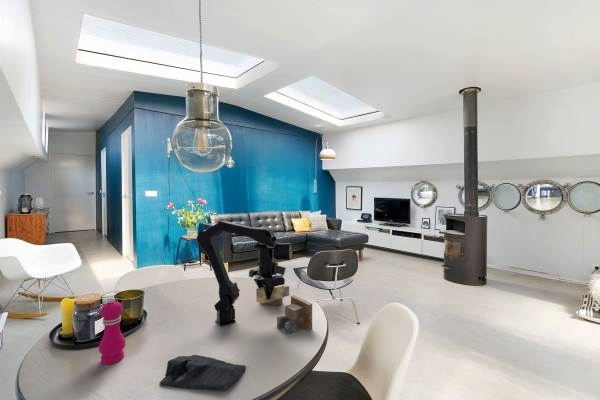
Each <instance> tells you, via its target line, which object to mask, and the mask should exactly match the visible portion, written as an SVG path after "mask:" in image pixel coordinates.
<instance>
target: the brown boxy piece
mask: <svg viewBox="0 0 600 400" xmlns="http://www.w3.org/2000/svg"><path fill="white" fill-rule="evenodd" d="M276 328H277V329H279V330H281V329H284V333H285V334H286V335H290V334H292V333H295V332H296V331H298V330H301V329H306V330H308V331H311V330H313V303H311V302H309V301H308V300H305V299H303V298H301V297H298V296H296V295H290V304H287V305H285V306H284V315H281V316H278V317H276Z"/></svg>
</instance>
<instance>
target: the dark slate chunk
mask: <svg viewBox="0 0 600 400" xmlns="http://www.w3.org/2000/svg"><path fill="white" fill-rule="evenodd" d="M246 368H247V366H246V365H245V364H244V365H242V364H237V363H236V364H235V363H230V362H226V361H225V360H221V359H216V358H214V357H210V356H206V355H199V354H192V355H179V356H176V357H175V358H172V359H169V360H168V361H167V363H166V371H165V375H164V377H163V378H162V379H161V380H160V381H159V384H160V385H163V386H167V385H168V386H172V387H176V388H180V387H181V388H185V389H188V388H196V389H201V390H204V389H206V390H208V389H209V390H224V389H225V390H226V389H229V387H230V386H231V385H232V384H233V383H234V382H235V381H237V379H238V378H239V377H241V376H242V375H243V374H244V373H245V371H246ZM183 375H184V376H183ZM181 376H183V378H181ZM180 378H181V379H180ZM178 379H179V380H178Z"/></svg>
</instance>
